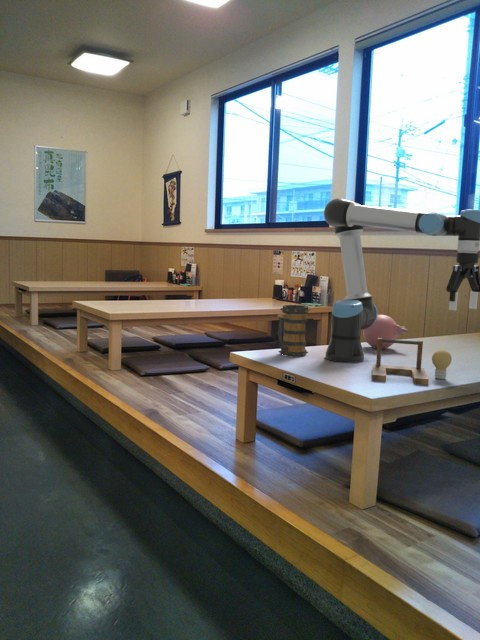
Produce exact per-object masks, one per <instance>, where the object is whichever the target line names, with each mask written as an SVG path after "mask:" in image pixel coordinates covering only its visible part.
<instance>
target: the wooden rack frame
mask: <svg viewBox="0 0 480 640" xmlns="http://www.w3.org/2000/svg"><path fill="white" fill-rule="evenodd" d="M382 342H385V343H394V344H400V345H402V344H403V345H413V346H414V345H416V346H417V351H416V365H415V367H414V366H413V367H412V366H401V365H400V366H399V365H388V364H387V365H386V364H381V363H382V350H383V349H382ZM423 345H424V340H416V341H415V340H403V339H397V340H390V339H382V338H378V344H377V348H376V361H375V364H374V363H373V364H372V370H371V371H372V372H371V373H372V375H371V380H372V381H374V382H384V383H386V382H387V374H389V375H398V376H399V375H402V376H411V379H412V382H413V385H421V386H429V381H430V379H429V377H428V374H427V371H426V369H425V367H422V359H423V358H422V357H423Z"/></svg>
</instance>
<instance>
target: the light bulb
mask: <svg viewBox="0 0 480 640" xmlns="http://www.w3.org/2000/svg"><path fill="white" fill-rule="evenodd" d="M452 360H453V358H452V354H451V353H450V352H449V351H447V350H444V349H440V350H436V351H434V352H433V354H432V357H431V362H432V364H433V365H434V367H435V369H434V377H435V378H436V379H438V380H444V379H446V378H447V368H448V367H450V365H451V363H452Z"/></svg>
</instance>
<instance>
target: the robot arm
mask: <svg viewBox="0 0 480 640" xmlns="http://www.w3.org/2000/svg"><path fill="white" fill-rule="evenodd" d="M323 217H324V220H325V222H326V223H327V224H328V225H329V226H331V228H332V227H333V228H334V235H335V236H336V237H337V238H339V243H340V244H339V245H340V251H341V252H340V253H341V261H342V268H343V275H344V277H343V278H344V283H345V291H346V296H345V297H344V298H343V299H340V300H336V301H334V302H333V304H332V308H331V327H330V328H331V329H330V340H329V343H328V346H327V348H326V351H325V359H326V360H329V361H333V362H339V363H362V362H363V361H364V360H365V359H364V358H365V354H364V350H363V345H362V342H361V339H362V338H361V337H362V334H361V333H362V331H363V329H367V328H369V327H370V326H372V325H373V324H374V323H375V322H376V320H377V316H378V315H379V313H378V309H377V306H376V305H375V304H374V301H373V297H372V294H370V293H369V292H368V286H367V284H368V283H367V279H366V270H365V262H364V255H363V248H362V238H361V235H362V233H363V232H364V227H370V228H376V229H377V228H378V229H386V230H393V231H394V230H395V231H402V232H411V233H418V234H425V235H426V236H432V237H433V236H434V237H440V236H441V237H445V236H447V237H453V236H454V237H457V249H456V251H457V253H456V259H455V262H456V263H458V264H454V265H453V267H452V272H451V274H450V278H449V280H448V284H447V286H446V288H445V290H446V292H448V293H449V299H448V300H449V302H448V303H449V304H448V311H454V312H457V309H458V308H457V307H458V299H459V292H458V290H459V288H460V286H461V284H462V283H463V281H464V280H465V279H467V282H468V284H469V286H470V289H471V291H470V292H469V302H468V309H471V310H472V309H473V310H477V306H478V296H479V293H480V265H476V264H478V263H479V254H480V253H478V252H479V251H480V210H479V209H463V210H460V213H459V215H444V214H439V213H437V212H434V211H433V212H431V211H429V212H427V211H426V212H425V211H416V210H407V209H400V208H399V209H398V208H389V207H380V206H370V205H363V204H362V205H361V204H360V203H358V202H357V201H354V200H350V199H349V200H348V199H345V198H334V199H331V200H330V201H329V202H328V203H327V204H326V205H325V208H324V209H323Z"/></svg>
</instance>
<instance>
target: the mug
mask: <svg viewBox="0 0 480 640" xmlns="http://www.w3.org/2000/svg"><path fill="white" fill-rule="evenodd" d="M279 309H280V310H281V311H282V313H281V312H280V313H278V315H276V316H277V318H278V329H277V337H278V338H277V341H278V345H279V348H280V350H278V353H280V355H282V354H283V355H282V356H284V355H287V356H286V357H290V356H293V357H294V358H296V357H297V358H300V357H305V356H307V354H309V351H307V349H306V344H307V341H306V334H307V331H306V323H307V322H308V319H307V316H308V314H309V312H310V311H311V309H310V308H309V306H306V305H299V304H298V305H297V304H284V305H282V307H281V308H279ZM293 357H292V358H293Z"/></svg>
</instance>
